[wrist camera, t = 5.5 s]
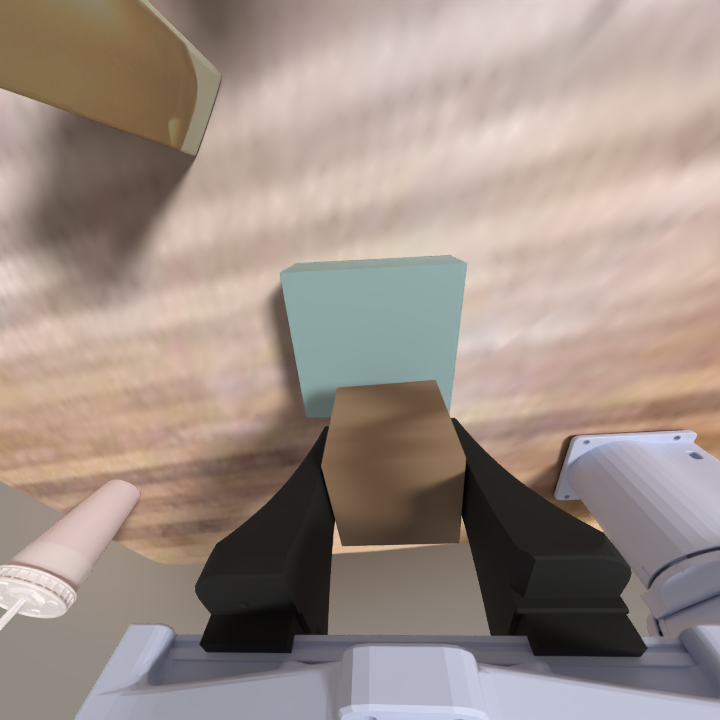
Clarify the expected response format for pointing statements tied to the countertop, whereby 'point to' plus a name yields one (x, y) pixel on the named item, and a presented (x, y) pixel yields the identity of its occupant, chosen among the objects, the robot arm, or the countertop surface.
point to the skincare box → (109, 66)
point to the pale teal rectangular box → (373, 324)
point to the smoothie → (64, 554)
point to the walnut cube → (394, 465)
